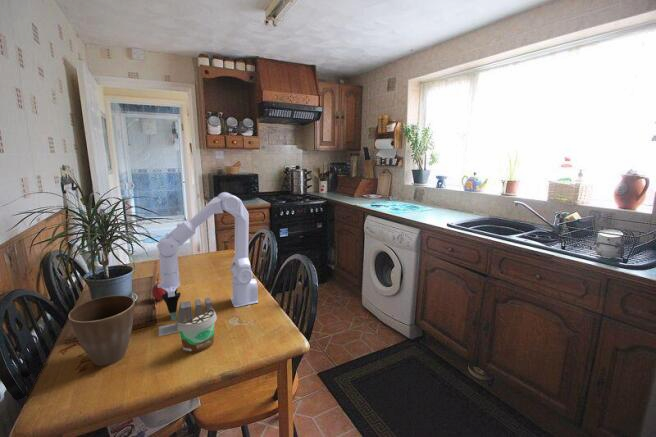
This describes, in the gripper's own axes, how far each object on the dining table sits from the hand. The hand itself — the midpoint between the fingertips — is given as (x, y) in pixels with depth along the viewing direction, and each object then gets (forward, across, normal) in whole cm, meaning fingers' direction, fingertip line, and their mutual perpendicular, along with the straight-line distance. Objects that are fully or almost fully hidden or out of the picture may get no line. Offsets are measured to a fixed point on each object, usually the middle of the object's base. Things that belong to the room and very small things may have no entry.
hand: (172, 307), depth 112 cm
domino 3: (+4, +8, +5) cm, 10 cm away
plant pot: (+4, +17, -17) cm, 24 cm away
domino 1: (+4, 0, 0) cm, 4 cm away
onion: (+4, -17, -4) cm, 18 cm away
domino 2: (+4, +8, +2) cm, 9 cm away
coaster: (+4, +8, -2) cm, 9 cm away
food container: (+4, +23, +8) cm, 24 cm away
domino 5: (+4, +8, +11) cm, 14 cm away
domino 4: (+4, +8, +8) cm, 12 cm away
